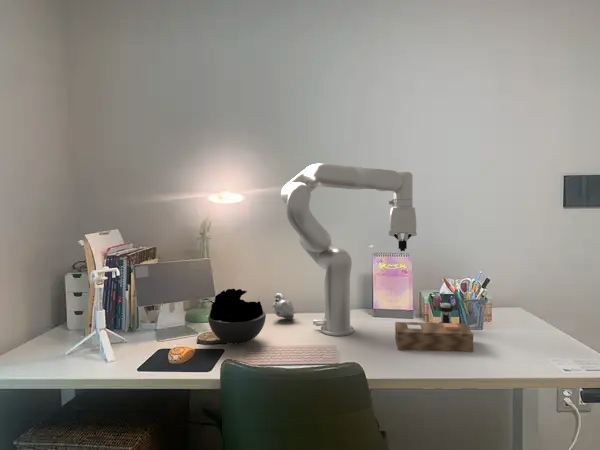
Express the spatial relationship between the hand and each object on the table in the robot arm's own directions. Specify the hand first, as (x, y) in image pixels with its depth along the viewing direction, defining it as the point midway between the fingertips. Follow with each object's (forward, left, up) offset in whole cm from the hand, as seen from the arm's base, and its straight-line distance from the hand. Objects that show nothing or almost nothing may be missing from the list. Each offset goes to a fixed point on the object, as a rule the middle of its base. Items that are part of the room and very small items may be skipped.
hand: (402, 250), depth 183 cm
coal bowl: (-59, -29, -29) cm, 72 cm away
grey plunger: (+2, -25, -29) cm, 38 cm away
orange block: (+14, -25, -28) cm, 40 cm away
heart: (-47, 0, -29) cm, 55 cm away
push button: (+16, -7, -29) cm, 34 cm away
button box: (+8, -25, -29) cm, 39 cm away
